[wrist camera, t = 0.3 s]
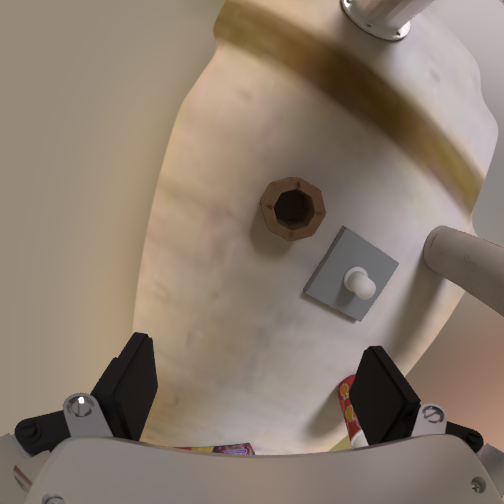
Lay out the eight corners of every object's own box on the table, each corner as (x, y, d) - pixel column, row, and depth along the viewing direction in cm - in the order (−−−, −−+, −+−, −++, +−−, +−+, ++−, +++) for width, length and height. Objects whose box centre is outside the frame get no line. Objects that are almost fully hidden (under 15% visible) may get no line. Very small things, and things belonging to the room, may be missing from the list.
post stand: (342, 225, 38) (358, 234, 32) (394, 260, 39) (413, 273, 34) (303, 289, 40) (311, 307, 34) (357, 317, 42) (370, 336, 36)
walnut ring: (277, 169, 36) (283, 168, 30) (321, 195, 37) (334, 199, 31) (252, 214, 37) (253, 221, 31) (296, 238, 38) (304, 249, 32)
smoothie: (345, 404, 48) (373, 480, 28) (324, 387, 46) (351, 472, 27) (378, 381, 46) (418, 454, 27) (360, 361, 44) (402, 442, 25)
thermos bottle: (442, 215, 37) (578, 266, 10) (460, 246, 39) (576, 307, 12) (415, 250, 39) (547, 330, 12) (436, 279, 40) (546, 361, 14)
